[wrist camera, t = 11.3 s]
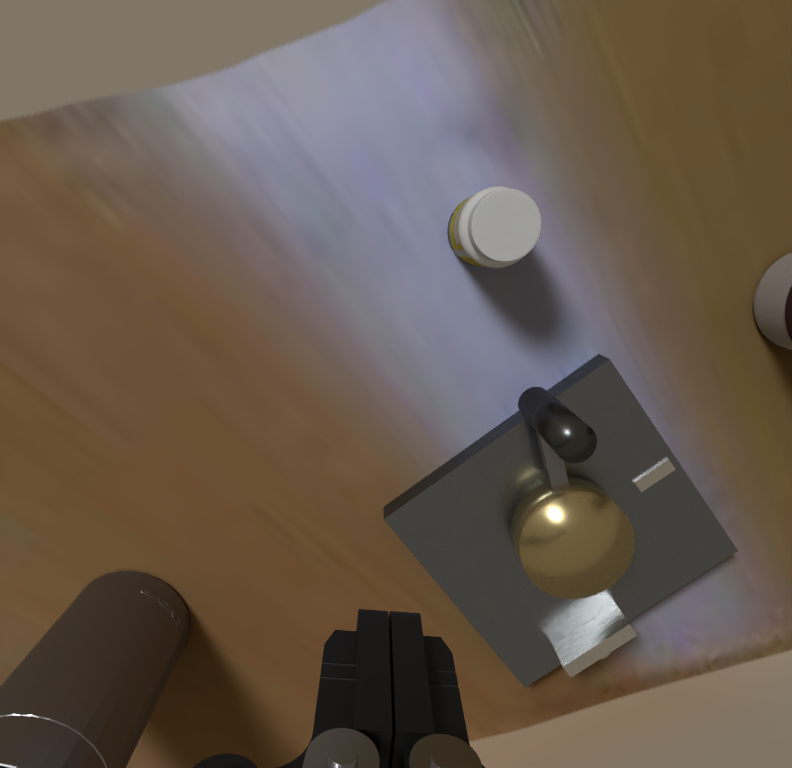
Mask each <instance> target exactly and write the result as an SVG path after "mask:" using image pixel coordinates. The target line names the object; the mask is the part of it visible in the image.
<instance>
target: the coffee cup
mask: <svg viewBox="0 0 792 768" xmlns="http://www.w3.org/2000/svg"><path fill="white" fill-rule="evenodd" d="M754 317H755V320H756V323H757V325H758V327H759V329H760V330H761V332H762V333H763V334H764V335H765V336H766V338H768V339H769V340H770V341H772V342H773V343H775V344H777V345H779V346H781V347H784V348H787V349H790V350H792V252H791V253H789V254H787V255H785V256H783V257H782V258H780V259H779V260H777V261H776V262H775V263H774V264H773V265H772V266H771V267H770V268H769V269H768V270H767V271H766V272H765V274H764V275H763V277H762V278H761V280H760V282H759V284H758V287H757V289H756V292H755V297H754Z"/></svg>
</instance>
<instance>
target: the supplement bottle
mask: <svg viewBox="0 0 792 768" xmlns="http://www.w3.org/2000/svg"><path fill="white" fill-rule="evenodd" d="M541 227H542V220H541V215H540V211H539V209H538V207H537V205H536V203H535V202H534V201H533V200H532V198H530V197H529V196H528V195H527V194H525V193H523V192H521V191H519V190H515V189H511V188H508V187H502V186H497V187H490V188H486V189H484V190H481V191H479V192H478V193H476V194H474V195H473V196H471V197H469V198H468V199H466V200H465V201H463V202H462V203H461V204H459V205H458V206H457V208H456V209H455V210H454V212H453V213H452V215H451V217H450V220H449V223H448V230H447V234H448V240H449V244H450V246H451V248H452V250H453V252H454V253H455V254H456V255H457V256H458V257H459V258H460V259H461V260H463V261H464V262H466V263H468V264H471V265H474V266H482V267H488V268H503V267H507V266H510V265H513V264H515V263H516V262H518V261H519V260H521V259H522V258H523V257H524V256H525V255H527V254H528V253H529V252H530V251H531V250H532V249H533V248H534V246H535V245H536V243H537V241H538V239H539V237H540V233H541Z"/></svg>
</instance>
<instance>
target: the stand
mask: <svg viewBox="0 0 792 768" xmlns="http://www.w3.org/2000/svg"><path fill="white" fill-rule="evenodd" d="M548 392H549V393H550V394H551V395H552V396H554V397H555V398H556V399H557V400H558V401H560V402H561V403H562V404H563V405H564V406H566V407H567V408H568V409H569V410H570V411H572V412H573V413H574V414H575V415H576V416H578V417H579V418H580V419H581V420H582V421H584V422H585V423H586V424H587V425H588V426H589V427H591V428H592V429H593V430H594V432H595V434H596V437H597V446H596V449H595V451H594V453H593V454H592V456H591V457H590V458H588V459H587V460H585V461H583V462H580V463H568V462H565V461H564V464H565V469H566V473H567V477H568V478H579V479H583V480H587V481H589V482H591V483H594V484H595V485H597V486H598V487H600V488H601V489H602V490H603V491H604V492H605V493H606V494H607V495H608V496H609V497H610V498H611V499H612V500H613V501H614V502H615V503H616V504H617V505H618V506H619V508H620V509H621V510H622V511H623V512H624V513H625V514H626V516H627V517H628V519H629V520H630V522H631V525H632V527H633V531H634V536H635V549H634V554H633V557H632V560H631V563H630V565H629V567H628V568H627V570H626V572H625V573H624V574H623V575H622V577H621V578H620V579H619V580H618V581H617V582H616V583H615V584H613V585H612V586H611V587H610V588H608V589H606V590H605V591H603V592H601V593H599V594H596V595H594V596H591V597H587V598H581V599H564V598H559V597H555V596H552V595H550V594H547V593H546V592H544V591H542V590H541V589H539V588H538V587H537V586H536V585H535V584H534V583H533V582H532V581H531V580H530V579H529V577H528V576H527V574H526V572H525V570H524V568H523V566H522V563H521V561H520V559H519V557H518V555H517V553H516V550H515V548H514V546H513V543H512V538H511V523H512V519H513V515H514V513H515V510H516V509H517V507H518V505H519V503H520V502H521V501H522V499H523V498H524V497H525V496H526V495H527V494H528V493H529V492H530V491H532V490H533V489H534V488H536V487H537V486H539V485H541V484H543V483H545V482H547V477H546V472H545V468H544V464H543V460H542V456H541V451H540V447H539V443H538V439H537V434H536V430H535V429H534V428H533V426H532V425H531V424H530V423H529V422H528V421H527V420H526V418H525V417H524V416H523V415H522V414H521V412H520V410H519V411H518V412H517V413H515V414H514V415H512V416H511V417H510V418H508V419H507V420H505V421H504V422H503V423H501V424H500V425H498V426H497V427H496V428H494V429H493V430H491V431H490V432H489V433H487V434H486V435H484V436H483V437H481V438H480V439H479V440H477V441H476V442H474V443H473V444H472V445H470V446H469V447H467V448H466V449H465V450H463V451H462V452H460V453H459V454H458V455H456V456H455V457H453V458H452V459H451V460H449V461H448V462H446V463H445V464H444V465H442V466H441V467H439V468H438V469H437V470H435V471H434V472H432V473H431V474H429V475H428V476H427V477H425V478H424V479H422V480H421V481H420V482H418V483H417V484H415V485H414V486H413V487H411V488H410V489H408V490H407V491H406V492H404V493H403V494H401V495H400V496H399V497H397V498H396V499H394V500H393V501H392V502H390V503H389V504H387V505H386V506H385V507H384V520H385V521H386V522H387V523H388V525H389V526H390V527H391V528H392V529H393V531H394V532H395V533H396V534H397V535H398V537H399V538H400V539H401V540H402V541H403V543H404V544H405V545H406V546H407V547H408V548H409V550H410V551H411V552H412V553H413V554H414V556H415V557H416V558H417V559H418V560H419V562H420V563H421V564H422V565H423V566H424V568H425V569H426V570H427V571H428V572H429V574H430V575H431V576H432V577H433V578H434V580H435V581H436V582H437V583H438V584H439V586H440V587H441V588H442V589H443V590H444V591H445V593H446V594H447V595H448V596H449V597H450V599H451V600H452V601H453V602H454V603H455V605H456V606H457V607H458V608H459V609H460V611H461V612H462V613H463V614H464V615H465V617H466V618H467V619H468V620H469V621H470V623H471V624H472V625H473V626H474V627H475V629H476V630H477V631H478V632H479V633H480V635H481V636H482V637H483V638H484V639H485V640H486V642H487V643H488V644H489V645H490V646H491V648H492V649H493V650H494V651H495V652H496V654H497V655H498V656H499V657H500V658H501V660H502V661H503V662H504V663H505V664H506V666H507V667H508V668H509V669H510V670H511V672H512V673H513V674H514V675H515V676H516V678H517V679H518V680H519V681H520V682H521V684H522V685H523V686H524V687H527V686H529V685H530V684H532V683H533V682H535V681H536V680H538V679H539V678H541V677H543V676H544V675H546V674H547V673H549V672H550V671H552V670H553V669H555V668H557V667H558V666H560V665H561V664H562V667H563V668H564V669H565V671H566V672H567V673H568V674H569V675H570V677H573V676H574V675H576V674H578V673H579V672H581V671H582V670H584V669H585V668H587V667H589V666H590V665H592V664H593V663H595V662H596V661H598V660H600V659H605V658H607V657H608V656H609V655H610V653H611V652H612V651H614V650H615V649H617V648H618V647H620V646H621V645H623V644H625V643H626V642H628V641H629V640H631V639H632V638H634V637H636V636H637V633H636V632H635V630H634V629H633V627H632V626H631V624H630V623H629V621H630V620H631V619H633V618H634V617H636V616H637V615H639V614H641V613H642V612H644V611H645V610H647V609H648V608H650V607H651V606H653V605H655V604H656V603H658V602H659V601H661V600H662V599H664V598H665V597H667V596H669V595H670V594H672V593H673V592H675V591H676V590H678V589H679V588H681V587H683V586H684V585H686V584H687V583H689V582H690V581H692V580H693V579H695V578H697V577H698V576H700V575H701V574H703V573H704V572H706V571H707V570H709V569H711V568H712V567H714V566H715V565H717V564H718V563H720V562H721V561H723V560H725V559H726V558H728V557H729V556H731V555H732V554H734V553H735V552H737V551H738V550H737V549H736V547H735V546H734V544H733V543H732V541H731V540H730V538H729V537H728V535H727V534H726V532H725V531H724V529H723V528H722V526H721V525H720V523H719V522H718V520H717V519H716V517H715V516H714V514H713V513H712V511H711V510H710V508H709V507H708V505H707V504H706V502H705V501H704V499H703V498H702V496H701V495H700V494H699V492H698V491H697V489H696V488H695V486H694V485H693V483H692V482H691V480H690V479H689V477H688V476H687V474H686V473H685V471H684V470H683V468H682V467H681V465H680V464H679V462H678V461H677V459H676V458H675V456H674V455H673V453H672V452H671V450H670V449H669V447H668V446H667V444H666V443H665V441H664V440H663V438H662V437H661V435H660V434H659V432H658V431H657V429H656V428H655V426H654V425H653V423H652V422H651V420H650V419H649V417H648V416H647V414H646V413H645V411H644V410H643V408H642V407H641V405H640V404H639V402H638V401H637V399H636V398H635V396H634V395H633V393H632V392H631V391H630V389H629V388H628V386H627V385H626V383H625V382H624V380H623V379H622V377H621V376H620V374H619V373H618V371H617V370H616V368H615V367H614V365H613V364H612V362H611V361H610V359H608V358H606V357H604V356H602V355H600V354H598V355H597V356H595V357H594V358H593V359H591V360H590V361H588V362H587V363H586V364H584V365H583V366H581V367H580V368H579V369H577V370H576V371H574V372H573V373H571V374H570V375H569V376H567V377H566V378H564V379H563V380H562V381H560V382H559V383H557V384H556V385H555V386H553V387H552V388H550V389H549V390H548Z"/></svg>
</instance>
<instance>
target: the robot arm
mask: <svg viewBox="0 0 792 768" xmlns="http://www.w3.org/2000/svg"><path fill="white" fill-rule="evenodd" d="M189 631H190V620H189V615H188V611H187V609H186V607H185V605H184V603H183V601H182V599H181V598H180V597H179V595H178V594H177V593H176V592H175V591H174V590H173V589H172V588H171V587H170V586H168V585H167V584H166V583H164V582H163V581H161V580H159V579H157V578H155V577H153V576H150V575H147V574H144V573H138V572H132V571H126V572H115V573H111V574H107V575H104V576H102V577H100V578H98V579H96V580H94V581H93V582H92V583H90V584H89V585H88V586H86V588H85V589H84V590H83V591H82V592H81V593H80V595H79V596H78V597H77V598H76V599H75V600H74V602H73V603H72V604H71V605H70V606H69V607H68V608H67V610H66V611H65V612H64V613H63V614H62V615H61V617H60V618H59V619H58V620H57V621H56V622H55V623H54V624H53V626H52V627H51V628H50V629H49V630H48V631H47V633H46V634H45V635H44V636H43V637H42V638H41V640H40V641H39V642H38V643H37V644H36V645H35V647H34V648H33V649H32V650H31V651H30V652H29V654H28V655H27V656H26V657H25V658H24V659H23V661H22V662H21V663H20V664H19V665H18V666H17V668H16V669H15V670H14V671H13V672H12V673H11V675H10V676H9V677H8V678H7V679H6V680H5V682H4V683H3V684H2V685H1V686H0V768H126V766H127V764H128V762H129V760H130V758H131V756H132V754H133V752H134V750H135V748H136V746H137V744H138V741H139V739H140V737H141V735H142V733H143V731H144V729H145V727H146V725H147V723H148V721H149V719H150V717H151V714H152V712H153V710H154V708H155V706H156V704H157V702H158V700H159V698H160V696H161V694H162V692H163V690H164V687H165V685H166V683H167V681H168V679H169V677H170V675H171V673H172V671H173V669H174V667H175V665H176V663H177V661H178V659H179V657H180V654H181V652H182V650H183V648H184V646H185V644H186V642H187V639H188V635H189ZM193 768H257V766H256V765H255V764H254V763H253V762H252V761H250V760H249V759H248V758H245V757H243V756H240V755H237V754H220V755H215V756H212V757H209V758H207V759H205V760H203V761H201V762H200V763H198V764H197V765H195V766H194V767H193ZM277 768H485V767H484V766H483V765H482V764H481V761H480V759H479V757H478V755H477V753H476V752H475V751H474V750H473V748H472V747H470V744H469V740H468V735H467V730H466V724H465V719H464V714H463V708H462V703H461V698H460V692H459V688H458V682H457V676H456V674H455V666H454V660H453V655H452V652H451V651H450V649H449V648H448V647H447V645H446V644H445V642H444V641H443V640H442V638H441V637H432V636H423V632H422V624H421V616H420V613H407V612H393V611H390V614H388V611H378V610H364V609H359V611H358V620H357V629H356V631H343V630H335V631H334V632H333V634H332V635H331V636H330V638H329V639H328V640H327V642H326V643H325V644H324V652H323V660H322V667H321V675H320V683H319V690H318V698H317V706H316V713H315V721H314V729H313V735H312V739H311V741H310V743H309V745H308V747H307V748H306V749H305V751H304V752H303V753H302V754H301V755H300V756H299V757H297V758H296V759H295V760H293V761H292V762H290V763H288V764H286V765H284V766H281V767H277Z"/></svg>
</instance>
